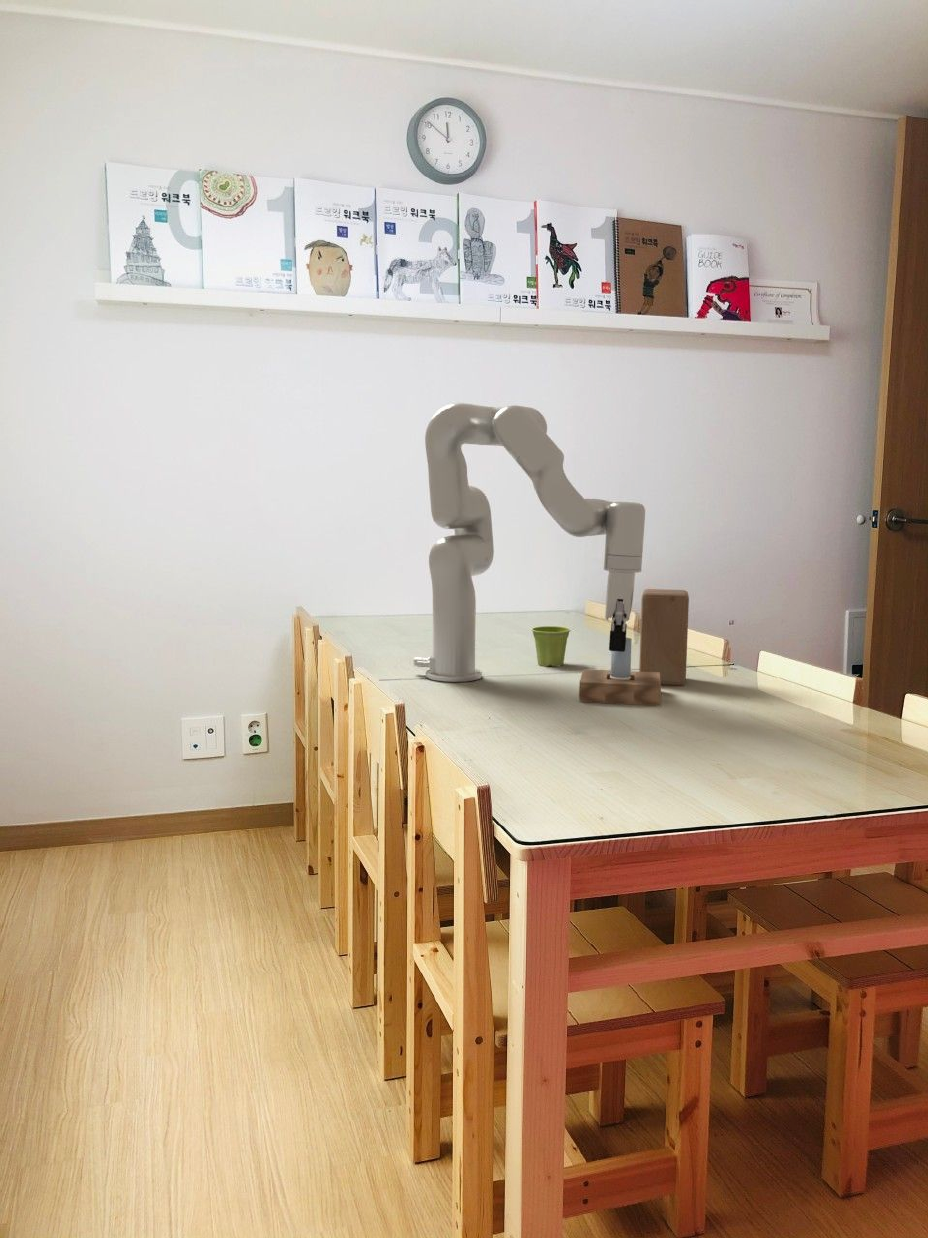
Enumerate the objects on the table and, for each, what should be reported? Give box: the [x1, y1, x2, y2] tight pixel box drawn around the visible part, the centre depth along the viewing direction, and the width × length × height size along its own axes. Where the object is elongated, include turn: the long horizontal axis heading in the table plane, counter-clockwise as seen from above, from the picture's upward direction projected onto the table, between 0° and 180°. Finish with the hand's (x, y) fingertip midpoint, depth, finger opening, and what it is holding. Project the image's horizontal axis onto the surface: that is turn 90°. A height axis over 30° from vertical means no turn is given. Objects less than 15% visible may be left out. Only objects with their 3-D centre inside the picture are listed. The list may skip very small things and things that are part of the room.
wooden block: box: [638, 588, 690, 686], centre depth 223 cm, size 10×10×20 cm
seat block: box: [578, 669, 662, 706], centre depth 208 cm, size 16×14×4 cm
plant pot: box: [530, 625, 572, 667], centre depth 243 cm, size 9×9×9 cm
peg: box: [610, 637, 632, 680], centre depth 208 cm, size 4×4×12 cm
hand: (617, 646), depth 208 cm, fingers open, 9 cm apart
